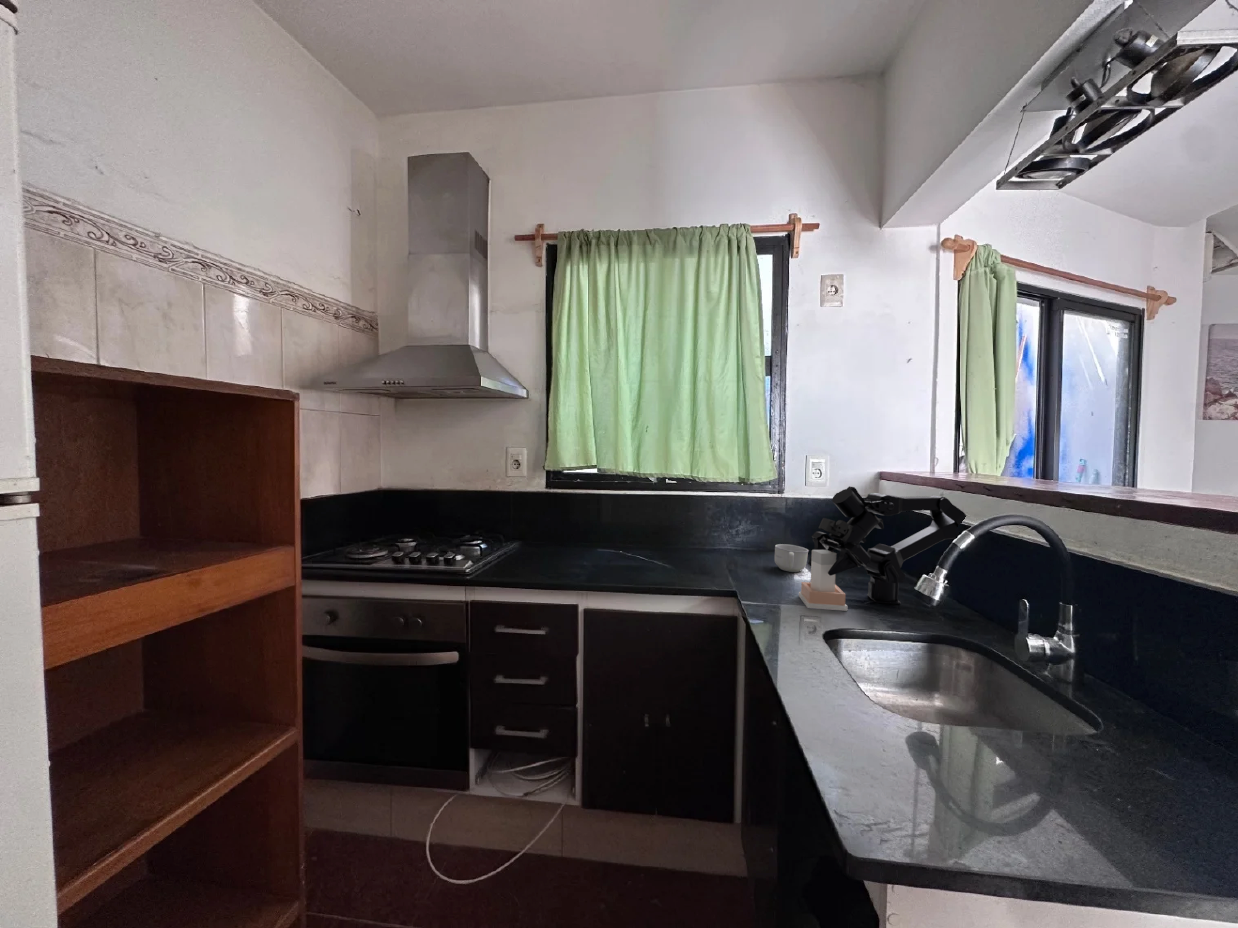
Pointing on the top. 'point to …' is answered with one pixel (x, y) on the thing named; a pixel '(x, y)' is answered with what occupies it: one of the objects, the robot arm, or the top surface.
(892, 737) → the top surface
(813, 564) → the plug
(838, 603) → the socket
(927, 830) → the top surface
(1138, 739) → the top surface
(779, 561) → the teacup
